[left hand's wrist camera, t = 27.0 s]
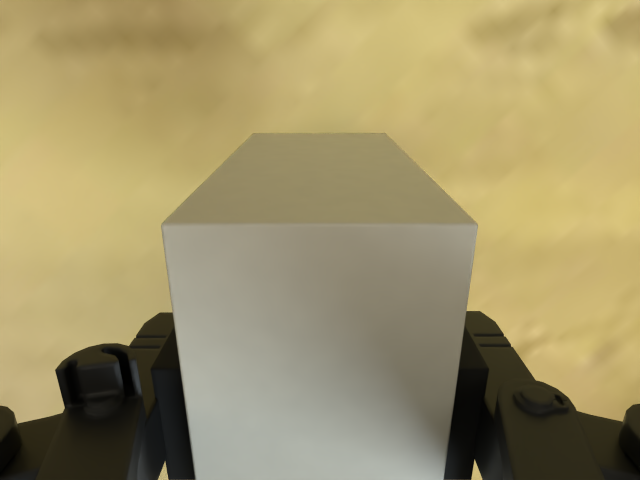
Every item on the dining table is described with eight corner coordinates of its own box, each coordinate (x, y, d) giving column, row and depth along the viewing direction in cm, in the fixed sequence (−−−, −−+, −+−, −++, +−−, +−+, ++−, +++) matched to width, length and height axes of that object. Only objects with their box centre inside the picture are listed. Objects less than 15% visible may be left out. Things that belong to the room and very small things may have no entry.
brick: (386, 133, 15) (479, 223, 6) (375, 342, 18) (428, 602, 9) (252, 133, 15) (159, 223, 6) (263, 342, 18) (210, 601, 9)
